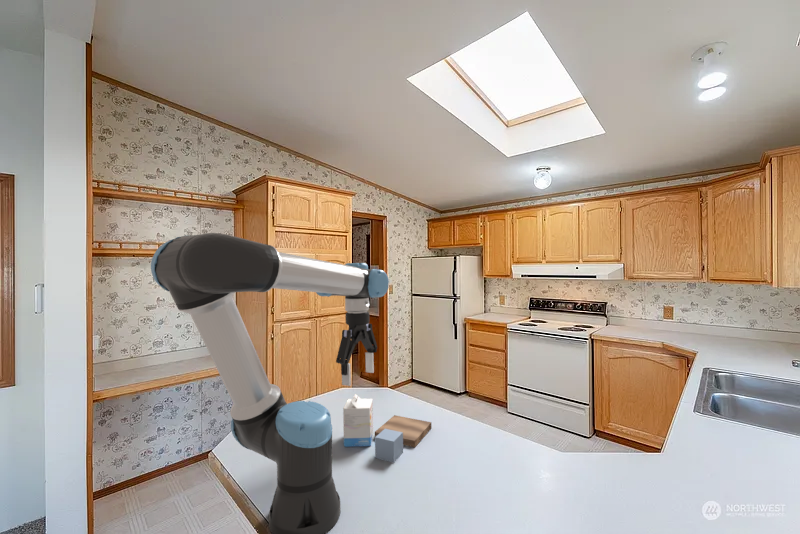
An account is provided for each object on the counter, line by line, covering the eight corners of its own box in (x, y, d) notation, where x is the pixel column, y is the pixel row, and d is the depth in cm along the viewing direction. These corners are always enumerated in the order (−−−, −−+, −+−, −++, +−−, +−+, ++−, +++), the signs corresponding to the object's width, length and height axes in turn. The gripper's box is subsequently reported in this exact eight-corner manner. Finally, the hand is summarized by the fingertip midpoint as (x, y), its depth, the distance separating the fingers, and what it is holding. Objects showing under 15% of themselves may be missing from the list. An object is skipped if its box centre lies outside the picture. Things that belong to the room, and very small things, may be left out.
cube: (393, 463, 98) (393, 441, 98) (375, 458, 101) (375, 437, 101) (403, 452, 103) (402, 432, 103) (385, 448, 106) (385, 428, 106)
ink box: (370, 446, 107) (370, 402, 107) (343, 447, 107) (342, 403, 107) (373, 433, 115) (372, 392, 115) (348, 433, 116) (347, 392, 116)
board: (414, 447, 106) (414, 440, 106) (374, 438, 112) (374, 431, 112) (431, 428, 119) (431, 422, 119) (394, 420, 125) (394, 415, 125)
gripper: (344, 317, 99) (345, 393, 99) (386, 307, 121) (387, 368, 121) (322, 316, 102) (324, 389, 102) (367, 306, 124) (368, 366, 124)
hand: (358, 378), depth 111 cm, fingers open, 13 cm apart
